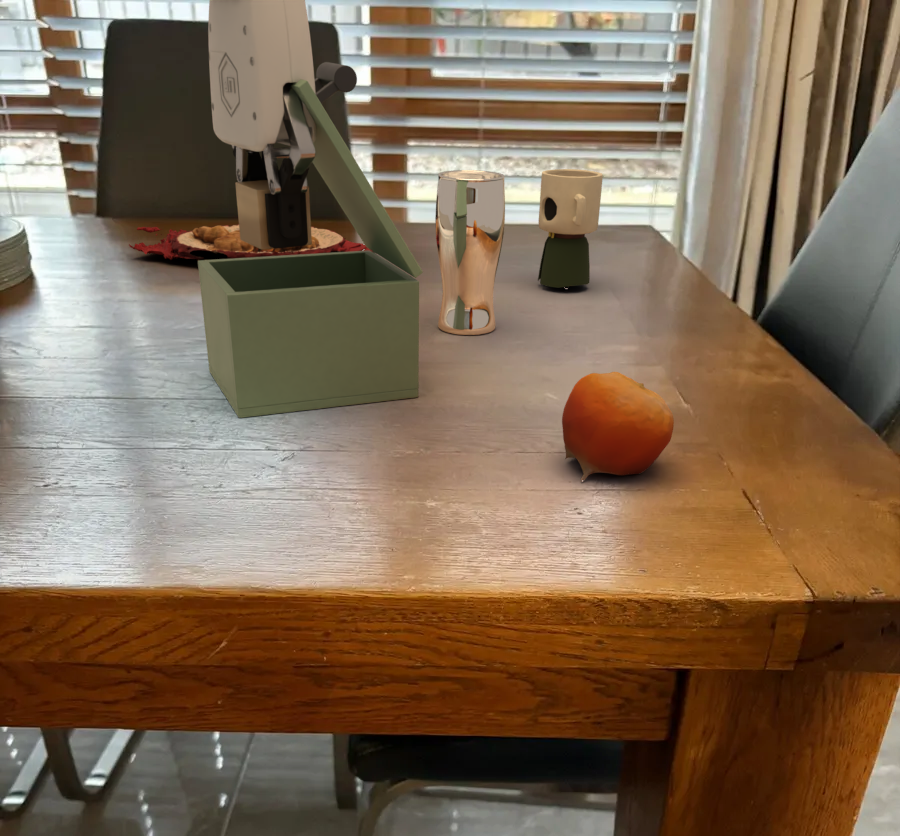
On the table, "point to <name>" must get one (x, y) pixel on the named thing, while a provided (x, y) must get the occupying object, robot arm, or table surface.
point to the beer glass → (469, 247)
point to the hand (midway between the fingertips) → (275, 238)
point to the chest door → (350, 170)
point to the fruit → (615, 425)
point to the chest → (310, 331)
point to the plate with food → (239, 243)
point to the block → (258, 213)
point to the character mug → (568, 224)
